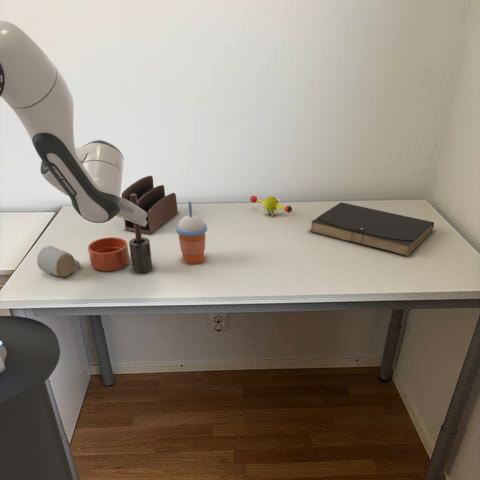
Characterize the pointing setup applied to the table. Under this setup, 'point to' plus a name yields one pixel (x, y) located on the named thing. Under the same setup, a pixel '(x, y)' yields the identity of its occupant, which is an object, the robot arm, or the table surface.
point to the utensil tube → (141, 256)
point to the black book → (372, 228)
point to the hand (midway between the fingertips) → (133, 219)
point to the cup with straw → (192, 237)
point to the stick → (137, 227)
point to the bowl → (108, 254)
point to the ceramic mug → (56, 261)
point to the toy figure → (271, 204)
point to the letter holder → (151, 204)
